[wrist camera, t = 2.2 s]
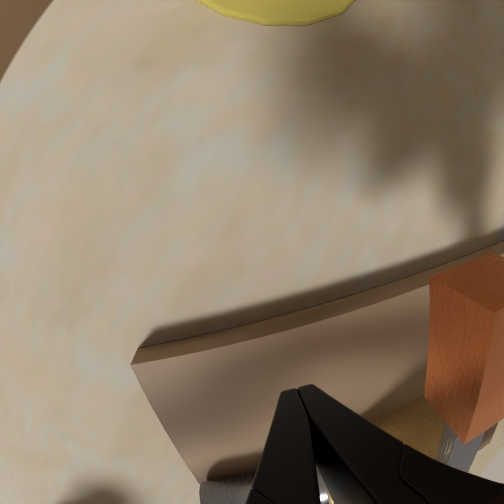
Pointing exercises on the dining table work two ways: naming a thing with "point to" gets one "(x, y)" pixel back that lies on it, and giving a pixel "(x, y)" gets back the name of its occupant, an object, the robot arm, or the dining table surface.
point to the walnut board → (290, 370)
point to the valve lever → (466, 355)
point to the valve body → (393, 422)
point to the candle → (279, 10)
